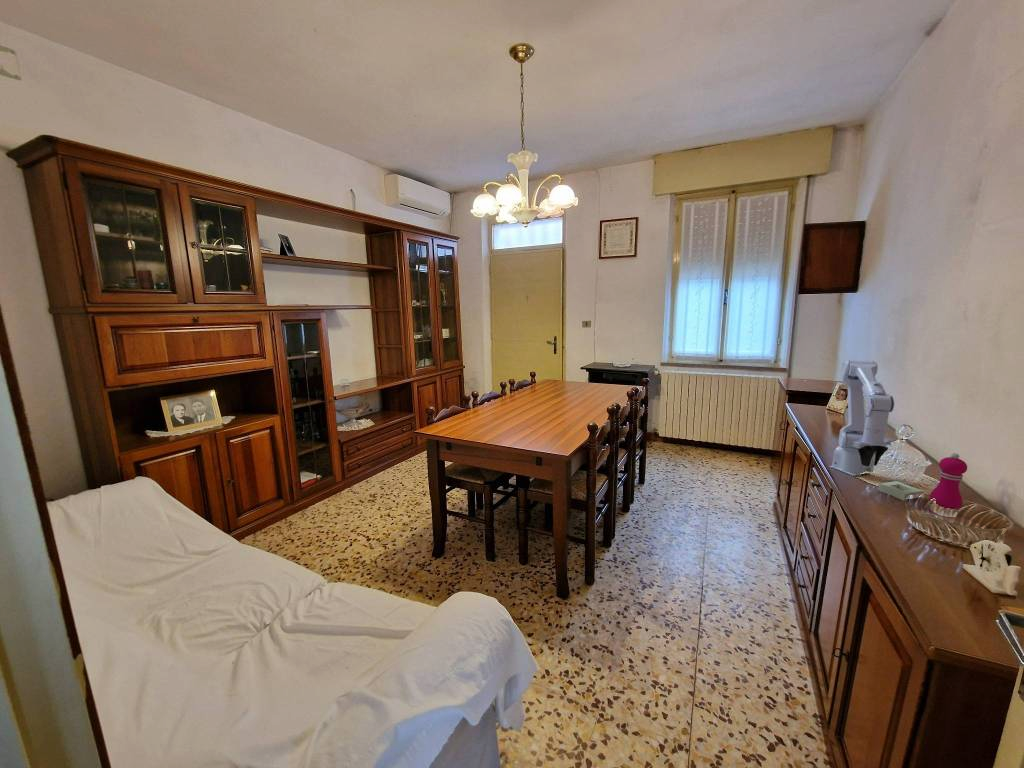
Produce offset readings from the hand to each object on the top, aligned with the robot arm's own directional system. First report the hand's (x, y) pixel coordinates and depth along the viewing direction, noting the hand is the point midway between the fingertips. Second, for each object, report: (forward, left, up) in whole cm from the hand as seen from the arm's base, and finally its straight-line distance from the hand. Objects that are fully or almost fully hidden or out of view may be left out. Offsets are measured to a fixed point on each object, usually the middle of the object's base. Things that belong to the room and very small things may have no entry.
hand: (868, 465), depth 147 cm
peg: (0, 0, -2) cm, 2 cm away
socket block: (+7, +6, -8) cm, 13 cm away
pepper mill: (+20, +5, -9) cm, 22 cm away
